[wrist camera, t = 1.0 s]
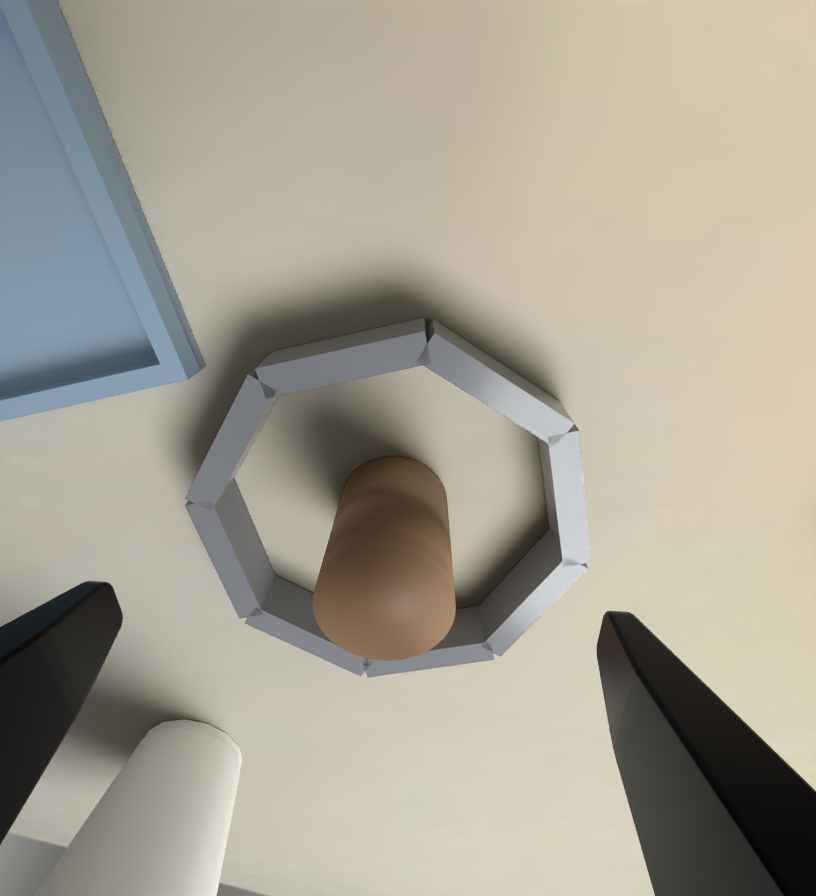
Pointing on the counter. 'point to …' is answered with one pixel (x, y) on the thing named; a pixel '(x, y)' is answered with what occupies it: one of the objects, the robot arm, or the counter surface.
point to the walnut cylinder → (388, 563)
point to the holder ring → (363, 356)
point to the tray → (73, 237)
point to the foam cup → (157, 820)
